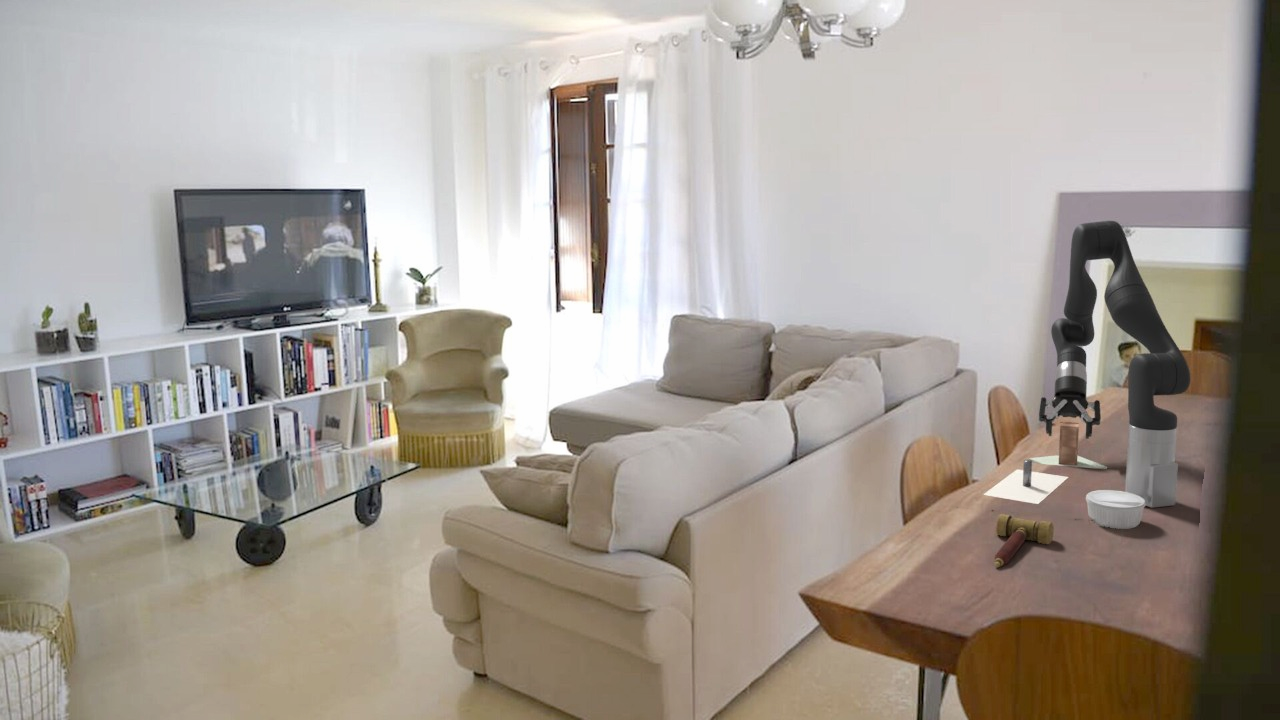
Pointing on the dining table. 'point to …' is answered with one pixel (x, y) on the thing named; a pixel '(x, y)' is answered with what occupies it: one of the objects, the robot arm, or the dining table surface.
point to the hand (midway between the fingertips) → (1068, 435)
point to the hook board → (1026, 492)
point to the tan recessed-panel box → (1068, 443)
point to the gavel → (1020, 535)
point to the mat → (1055, 461)
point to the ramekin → (1115, 508)
